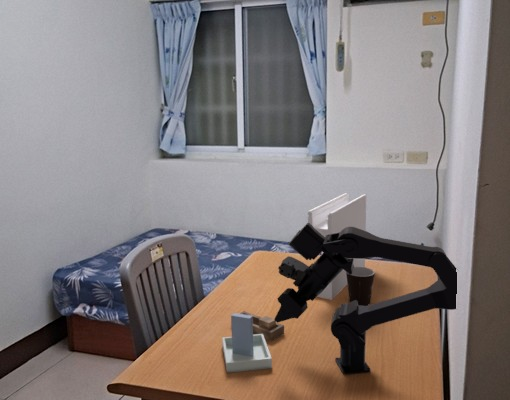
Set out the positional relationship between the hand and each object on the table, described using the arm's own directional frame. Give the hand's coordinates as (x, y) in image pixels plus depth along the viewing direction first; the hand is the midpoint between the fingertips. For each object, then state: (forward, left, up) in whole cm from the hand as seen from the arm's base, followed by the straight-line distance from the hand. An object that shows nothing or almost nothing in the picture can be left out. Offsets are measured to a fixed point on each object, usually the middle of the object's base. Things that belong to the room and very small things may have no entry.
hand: (283, 313), depth 115 cm
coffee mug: (+25, -28, -11) cm, 39 cm away
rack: (+14, +5, -11) cm, 19 cm away
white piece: (+46, -29, -11) cm, 56 cm away
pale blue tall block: (+1, +10, -10) cm, 14 cm away
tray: (0, +10, -11) cm, 14 cm away
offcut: (+11, +2, -9) cm, 14 cm away
